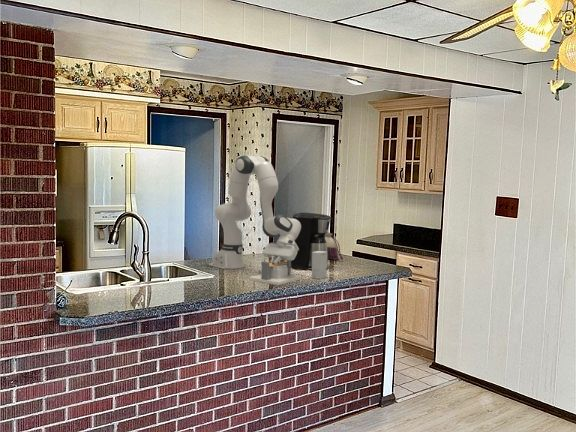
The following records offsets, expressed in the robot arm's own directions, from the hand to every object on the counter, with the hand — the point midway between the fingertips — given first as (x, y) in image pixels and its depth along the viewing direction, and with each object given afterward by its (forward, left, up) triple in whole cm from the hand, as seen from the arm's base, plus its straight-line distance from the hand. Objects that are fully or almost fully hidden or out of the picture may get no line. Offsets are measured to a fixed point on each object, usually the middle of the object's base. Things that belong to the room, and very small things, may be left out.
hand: (273, 263), depth 296 cm
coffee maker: (-10, +47, -9) cm, 49 cm away
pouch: (-14, +81, -9) cm, 82 cm away
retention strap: (0, +3, -1) cm, 4 cm away
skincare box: (+15, +24, -9) cm, 29 cm away
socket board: (0, +3, -9) cm, 10 cm away
